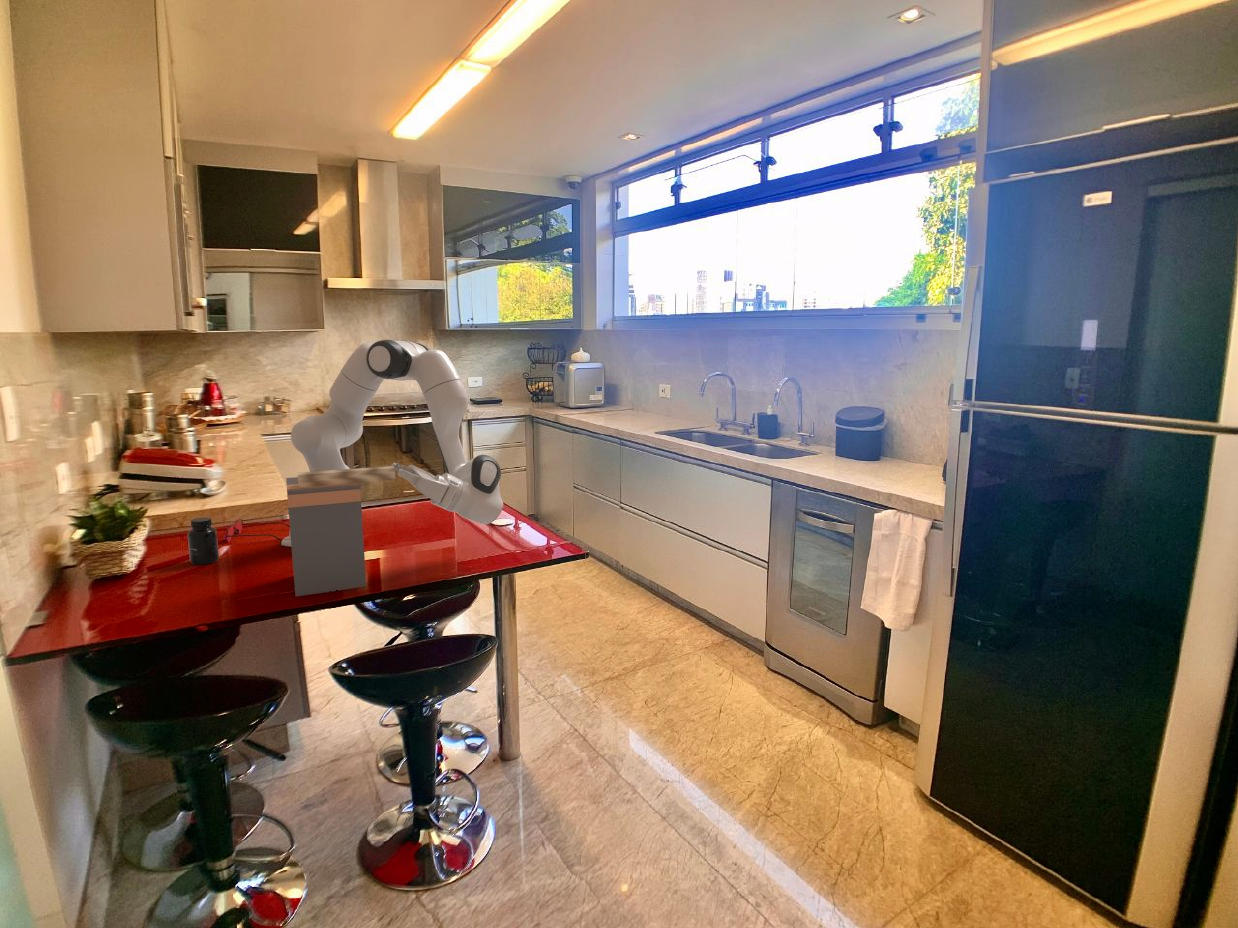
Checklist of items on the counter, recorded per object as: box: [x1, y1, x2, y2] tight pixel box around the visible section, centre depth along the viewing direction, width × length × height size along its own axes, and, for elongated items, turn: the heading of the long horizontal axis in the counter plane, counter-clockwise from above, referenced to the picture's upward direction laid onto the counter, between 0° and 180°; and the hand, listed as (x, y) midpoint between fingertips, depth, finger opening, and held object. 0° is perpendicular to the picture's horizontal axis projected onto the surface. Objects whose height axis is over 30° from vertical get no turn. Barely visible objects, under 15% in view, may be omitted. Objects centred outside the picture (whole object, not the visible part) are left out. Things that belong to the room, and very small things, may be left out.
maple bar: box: [297, 465, 396, 487], centre depth 166 cm, size 22×3×3 cm, turn 117°
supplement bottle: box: [187, 516, 220, 566], centre depth 185 cm, size 7×7×12 cm
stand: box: [285, 476, 367, 597], centre depth 170 cm, size 16×16×26 cm
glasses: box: [223, 518, 290, 543], centre depth 210 cm, size 14×16×5 cm
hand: (395, 468), depth 170 cm, fingers open, 8 cm apart
